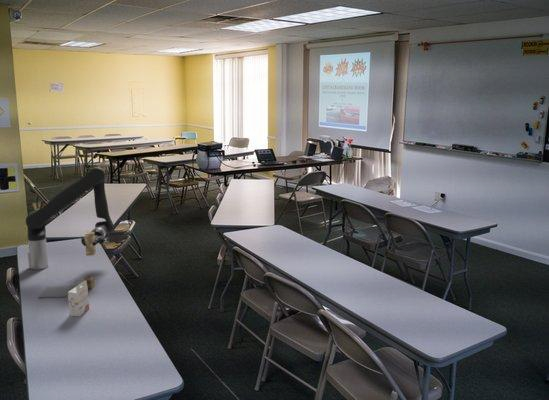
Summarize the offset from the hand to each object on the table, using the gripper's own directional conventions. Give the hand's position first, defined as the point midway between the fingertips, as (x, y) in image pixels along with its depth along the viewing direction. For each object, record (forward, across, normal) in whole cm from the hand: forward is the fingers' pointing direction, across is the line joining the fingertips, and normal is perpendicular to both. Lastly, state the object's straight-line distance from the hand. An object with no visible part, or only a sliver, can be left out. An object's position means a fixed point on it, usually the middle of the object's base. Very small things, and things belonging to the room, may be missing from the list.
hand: (89, 244), depth 252 cm
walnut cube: (+6, 0, +22) cm, 23 cm away
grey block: (+13, -2, +22) cm, 26 cm away
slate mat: (+12, -14, +22) cm, 29 cm away
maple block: (-3, 0, +6) cm, 7 cm away
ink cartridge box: (+36, +4, +22) cm, 43 cm away
